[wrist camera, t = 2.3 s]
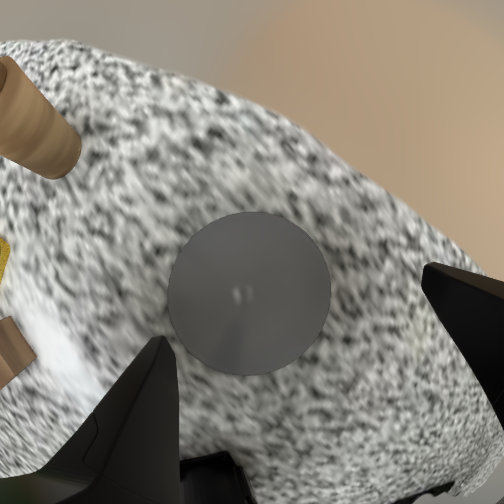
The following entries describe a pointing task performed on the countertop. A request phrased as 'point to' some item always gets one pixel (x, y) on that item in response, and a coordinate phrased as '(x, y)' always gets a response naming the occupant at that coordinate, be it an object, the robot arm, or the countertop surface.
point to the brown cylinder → (33, 126)
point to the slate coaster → (249, 293)
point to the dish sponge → (3, 256)
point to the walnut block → (12, 351)
